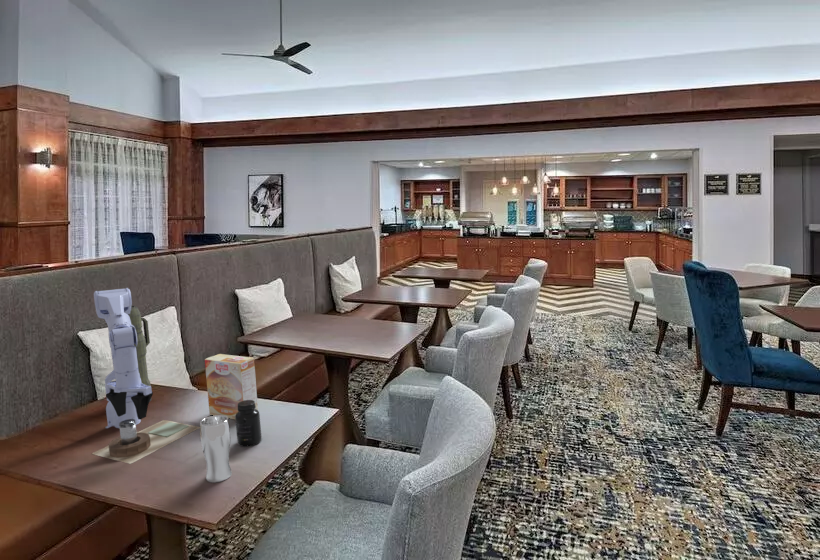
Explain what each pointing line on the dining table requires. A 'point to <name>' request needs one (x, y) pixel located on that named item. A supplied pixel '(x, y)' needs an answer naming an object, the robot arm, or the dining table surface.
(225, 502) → the dining table surface
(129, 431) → the pin
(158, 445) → the board
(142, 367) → the thermos
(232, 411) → the coffeecake box
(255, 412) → the supplement bottle
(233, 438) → the dining table surface
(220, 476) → the beer glass
